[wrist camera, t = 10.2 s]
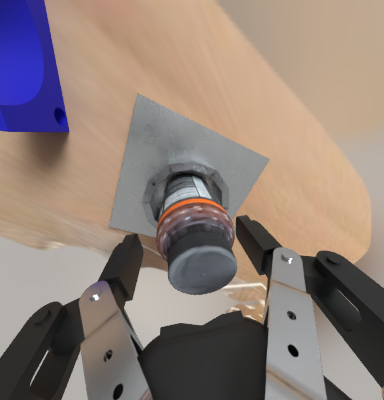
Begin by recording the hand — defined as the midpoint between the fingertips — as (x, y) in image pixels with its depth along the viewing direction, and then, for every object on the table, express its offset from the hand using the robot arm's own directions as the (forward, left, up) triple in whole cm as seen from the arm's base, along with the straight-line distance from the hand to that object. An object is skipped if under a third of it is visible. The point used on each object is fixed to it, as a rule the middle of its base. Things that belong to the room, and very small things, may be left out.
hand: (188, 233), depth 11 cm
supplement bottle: (0, 0, -8) cm, 8 cm away
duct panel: (0, 0, -8) cm, 8 cm away
